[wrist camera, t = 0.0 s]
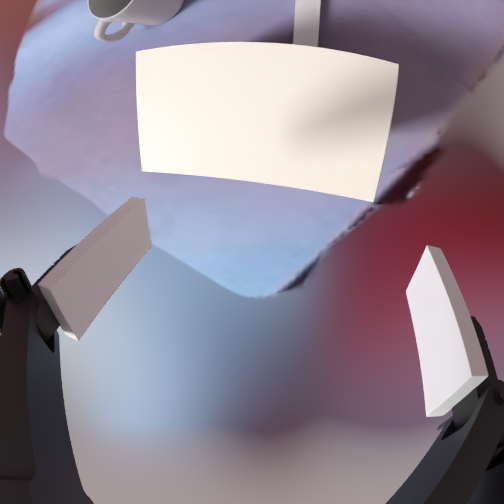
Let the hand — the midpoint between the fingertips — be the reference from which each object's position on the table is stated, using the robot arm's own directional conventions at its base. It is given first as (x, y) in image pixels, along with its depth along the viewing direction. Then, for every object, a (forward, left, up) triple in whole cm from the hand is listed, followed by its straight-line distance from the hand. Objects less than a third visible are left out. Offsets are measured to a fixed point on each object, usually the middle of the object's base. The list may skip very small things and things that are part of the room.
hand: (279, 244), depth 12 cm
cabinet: (-4, -3, -28) cm, 29 cm away
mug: (-18, -23, -28) cm, 41 cm away
